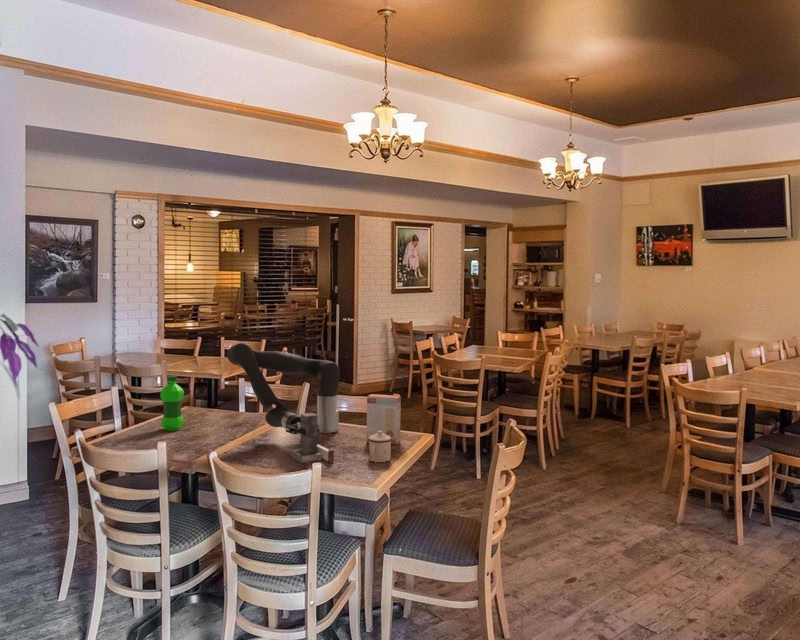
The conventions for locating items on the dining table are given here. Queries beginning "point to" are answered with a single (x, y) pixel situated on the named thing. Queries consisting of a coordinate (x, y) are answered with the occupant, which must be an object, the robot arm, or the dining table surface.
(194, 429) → the dining table surface
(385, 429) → the cracker box
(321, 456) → the grey open box
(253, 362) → the robot arm
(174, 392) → the plastic bottle
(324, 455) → the gate panel
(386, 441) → the teacup with lid
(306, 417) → the post
